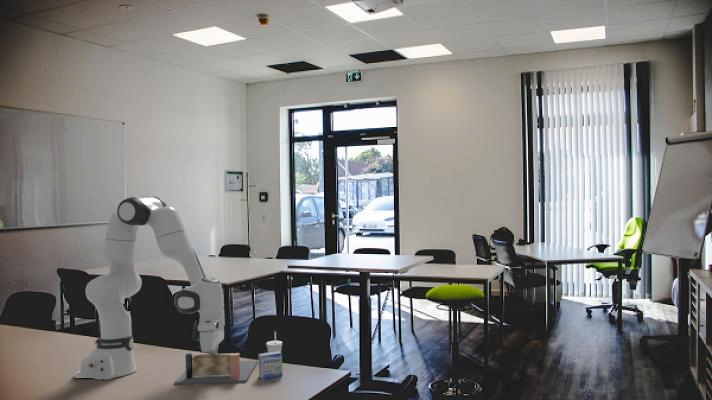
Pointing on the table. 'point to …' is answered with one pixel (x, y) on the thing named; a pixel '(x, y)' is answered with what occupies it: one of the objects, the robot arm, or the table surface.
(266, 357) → the medicine box
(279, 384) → the table surface
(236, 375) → the post
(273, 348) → the smoothie
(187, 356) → the hinge post
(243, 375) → the mat
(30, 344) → the table surface
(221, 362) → the gate
